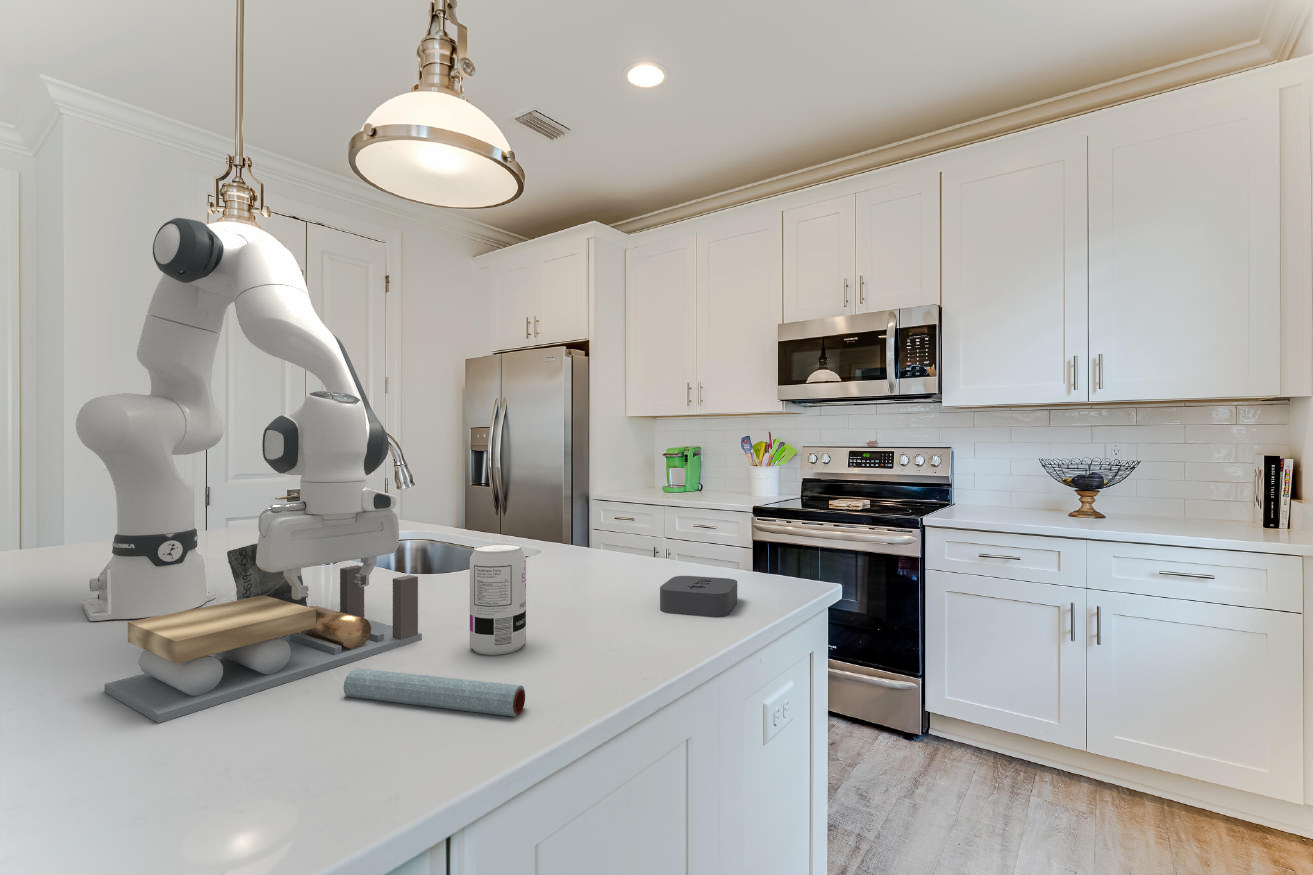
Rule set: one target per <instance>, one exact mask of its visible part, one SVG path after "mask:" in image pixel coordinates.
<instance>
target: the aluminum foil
mask: <svg viewBox="0 0 1313 875" xmlns="http://www.w3.org/2000/svg"><path fill="white" fill-rule="evenodd" d="M343 692H344V695H345V697H348V698H355V699H356V698H358V699H365V700H374V701H382V702H388V703H397V704H404V705H413V706H422V707H430V708H438V709H447V710H453V711H454V710H456V711H464V712H472V713H478V714H479V713H480V714H488V715H497V716H505V717H512V718H515V717H516V716H517V715H519V714H521V712H522V711H523V709H524V707H525V704H526V690H525V688H524V686H523V685H521V684H520V685H519V684H512V683H502V682H493V681H482V680H474V679H473V680H471V679H465V678H455V677H445V676H437V675H428V674H427V675H426V674H416V673H407V672H398V671H388V670H381V669H380V670H379V669H369V668H361V667H360V668H359V667H355V668H353V669H351V670H350V671H349V672H348V673H347V675H346V676H345V679H344V681H343Z"/></svg>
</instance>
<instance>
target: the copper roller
mask: <svg viewBox="0 0 1313 875" xmlns="http://www.w3.org/2000/svg"><path fill="white" fill-rule="evenodd" d="M309 607H310V608H314V609H316V628H313V629H309V630H305V631H301V632H299V633H302V634H305V635H308V636H311V637H314V638H318V639H321V640H324V641H327V642H331V643H334V644H337V645H340V646H343V647H347V648H350V649H356V648H359V647H361V646H363V645H364V644H365V643H366V642H367V640H368V639H369V637H370V634H371V625H370V623H369V621H368V620H369V619H368V618H366V617H364V618H362V617H358V616H354V615H350V614H346V613H342V612H340V611H337V610H333V609H329V608H326V607H322V606H320V605H319V606H318V605H312V606H311V605H310V606H309ZM367 619H368V620H367Z"/></svg>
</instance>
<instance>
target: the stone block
mask: <svg viewBox="0 0 1313 875" xmlns="http://www.w3.org/2000/svg"><path fill="white" fill-rule="evenodd" d="M257 545H258V542H256V543H252V544H249V545H244V546H241V547H238V548H233V549H231V550H227V551H226V553H227V554H226V556H227V560H228V561H227V562H228V564H229V567H230V570H231V574H232V577H233V580H234V583H235V587H236V592H235V596H236V601H237V600H242V599H247V598H252V597H257V596H262V595H264V596H268V597H272V598H276V599H279V600H283V601H287V602H291V603H295V604H298V605H302V606H306V607H308V603H307V598H304V599H300V600H295V599H293V598H292V586H290V584H289V583H288V581H287V580H286V578H285V577H284V571H280V572H274V573H271V572H266V571H263V570H261V569H260V568H259V567H258V566H257V564H256V553H257ZM297 578H298V580H299V581H300V583H301V585H304V582H303V575H302V574H301V576H297Z"/></svg>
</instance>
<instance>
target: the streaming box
mask: <svg viewBox="0 0 1313 875" xmlns="http://www.w3.org/2000/svg"><path fill="white" fill-rule="evenodd" d="M659 586H660V585H659ZM737 605H738V581H737V579H734V578H729V577H728V578H726V577H713V576H711V577H710V576H697V575H695V576H694V575H676V576H673V577H671V578H669V580H667V581H666V582H664V583H663V584H661V586H660V587H659V611H660V612H661V613H664V614H671V615H681V616H682V615H683V616H692V617H704V618H715V619H716V618H725V617H728V616H730V614H731V613H732V612H733V610H734V609H735V607H736V606H737Z"/></svg>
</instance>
